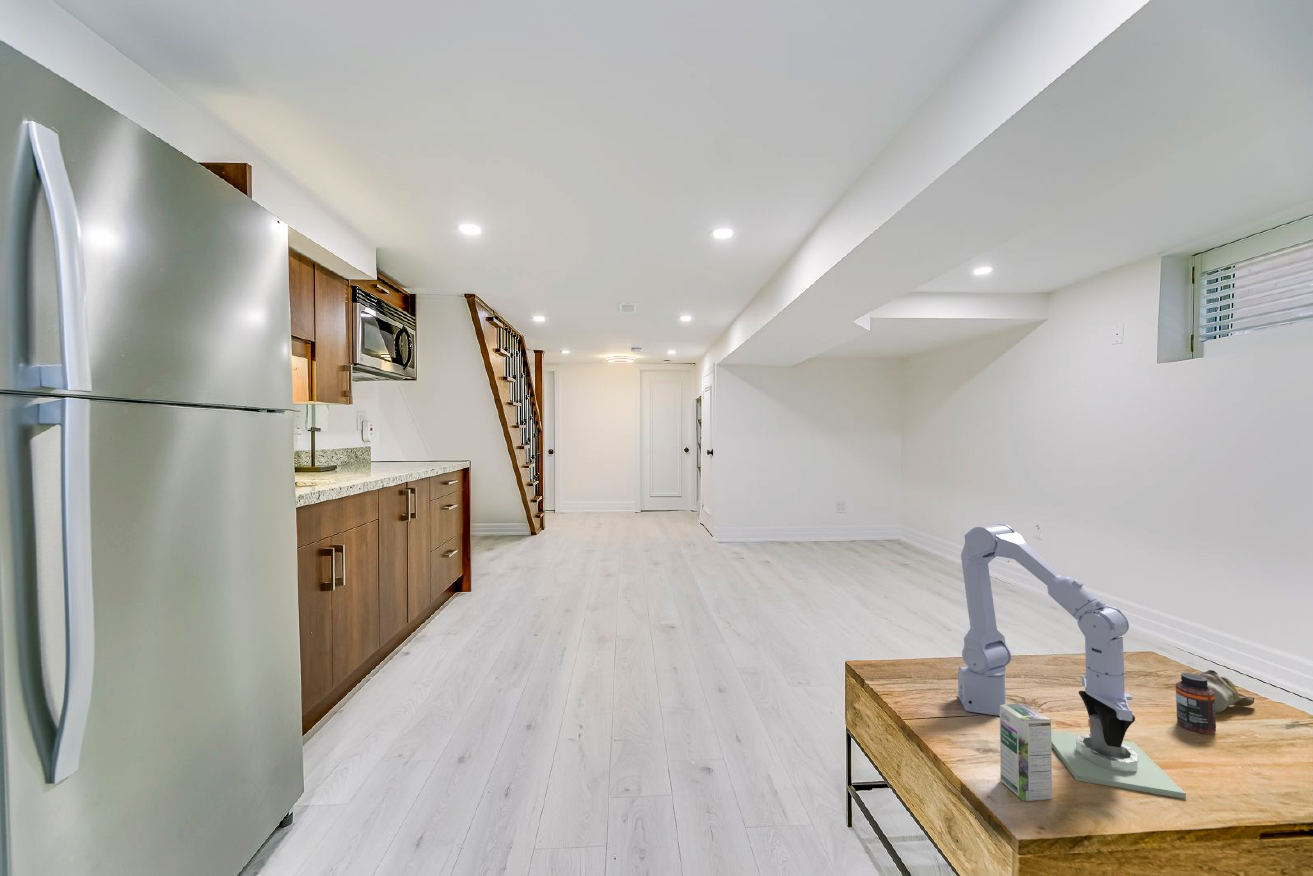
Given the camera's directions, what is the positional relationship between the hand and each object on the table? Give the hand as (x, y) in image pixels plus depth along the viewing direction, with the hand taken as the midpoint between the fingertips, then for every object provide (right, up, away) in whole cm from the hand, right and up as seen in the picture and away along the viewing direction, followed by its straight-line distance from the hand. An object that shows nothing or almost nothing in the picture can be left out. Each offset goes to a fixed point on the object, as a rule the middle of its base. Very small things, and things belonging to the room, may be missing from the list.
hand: (1106, 738), depth 99 cm
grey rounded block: (0, -3, 0) cm, 3 cm away
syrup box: (-22, -5, -7) cm, 23 cm away
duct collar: (0, -5, 0) cm, 5 cm away
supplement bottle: (+30, -5, +12) cm, 33 cm away
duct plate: (0, -5, 0) cm, 5 cm away
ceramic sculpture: (+45, -5, +21) cm, 50 cm away
